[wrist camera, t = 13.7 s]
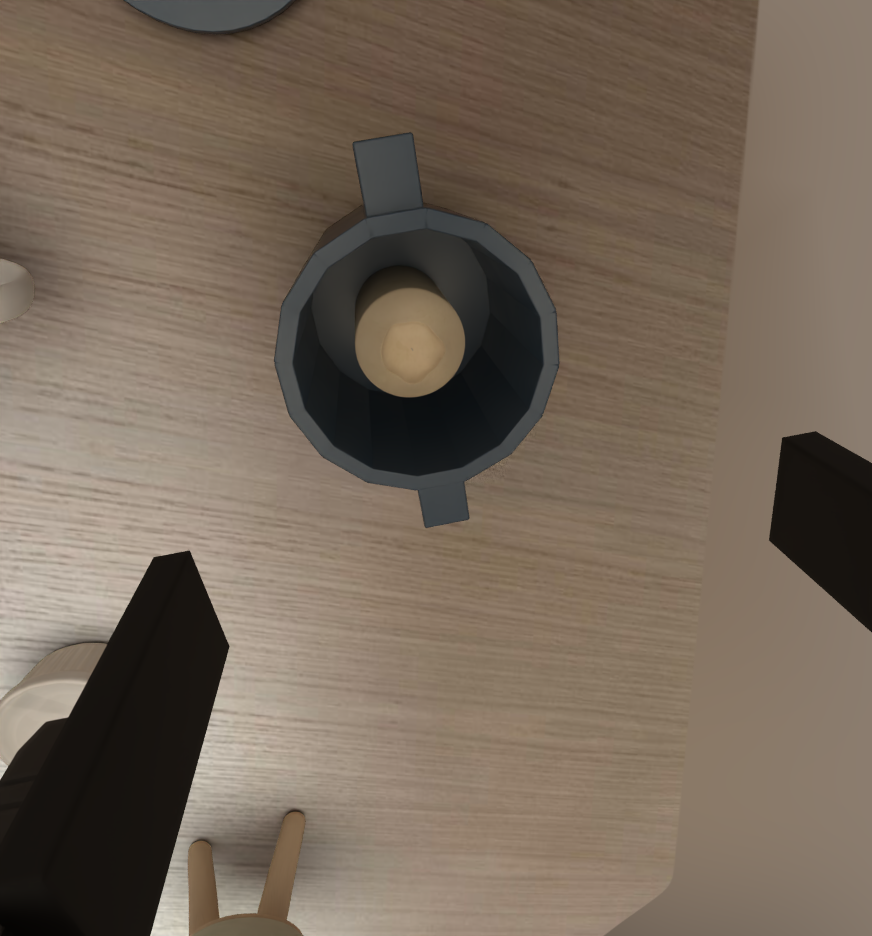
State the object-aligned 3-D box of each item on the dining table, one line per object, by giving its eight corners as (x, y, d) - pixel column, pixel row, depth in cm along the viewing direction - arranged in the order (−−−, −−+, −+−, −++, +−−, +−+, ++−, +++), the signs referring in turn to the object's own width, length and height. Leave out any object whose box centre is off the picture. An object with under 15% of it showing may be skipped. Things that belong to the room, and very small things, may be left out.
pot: (482, 130, 34) (545, 108, 23) (511, 420, 42) (568, 508, 31) (263, 167, 33) (217, 163, 22) (335, 453, 41) (328, 555, 30)
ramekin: (146, 617, 46) (122, 667, 41) (193, 718, 51) (176, 773, 46) (-3, 644, 45) (-45, 699, 40) (60, 744, 50) (29, 803, 45)
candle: (444, 265, 36) (473, 294, 27) (441, 353, 39) (467, 406, 30) (353, 263, 36) (353, 292, 27) (356, 353, 38) (356, 408, 29)
